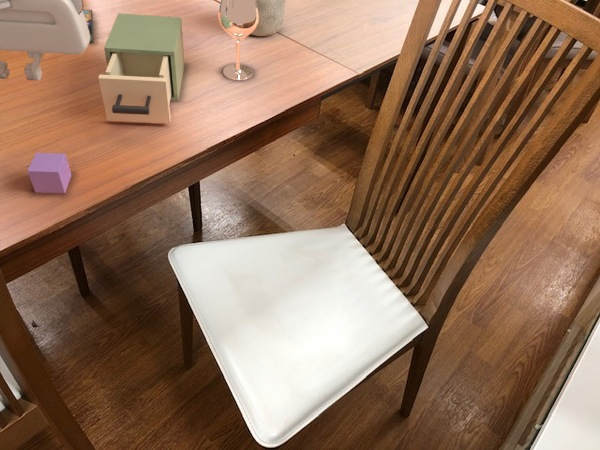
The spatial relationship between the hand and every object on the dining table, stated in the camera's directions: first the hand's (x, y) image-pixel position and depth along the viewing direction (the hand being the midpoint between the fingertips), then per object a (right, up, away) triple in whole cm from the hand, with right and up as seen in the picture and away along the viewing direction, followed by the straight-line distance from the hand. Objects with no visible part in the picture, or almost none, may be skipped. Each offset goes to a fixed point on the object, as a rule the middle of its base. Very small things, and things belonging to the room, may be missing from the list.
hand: (19, 77), depth 68 cm
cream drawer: (+8, +2, +29) cm, 30 cm away
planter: (+28, +29, +59) cm, 72 cm away
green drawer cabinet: (+7, +10, +38) cm, 40 cm away
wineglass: (+24, +14, +43) cm, 52 cm away
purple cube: (-2, -13, +14) cm, 19 cm away
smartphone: (-15, +26, +50) cm, 58 cm away
